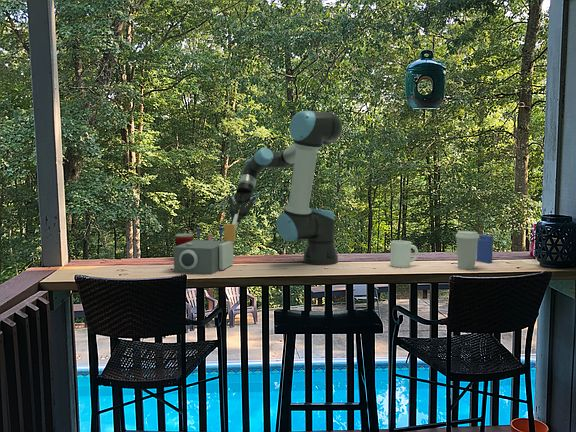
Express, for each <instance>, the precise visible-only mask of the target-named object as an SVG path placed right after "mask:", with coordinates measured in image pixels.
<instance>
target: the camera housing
mask: <svg viewBox="0 0 576 432" xmlns="http://www.w3.org/2000/svg"><path fill="white" fill-rule="evenodd" d="M225 242H227V241H224V240H206V239H202V240H201V239H193V240H192V241H190V242H187V243H184V244H181V245H178V246H173V272H174V273H181V274H182V273H184V274H185V273H186V274H202V275H213V274H215V273H216V272H219V271H220V270H219V245H220V244H223V243H225Z"/></svg>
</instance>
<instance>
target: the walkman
mask: <svg viewBox="0 0 576 432" xmlns="http://www.w3.org/2000/svg"><path fill="white" fill-rule="evenodd" d="M478 235H479V238H478V244H477V252H476V259H475V262H479V263H485V264H492V263H493V249H494V248H493V246H494V236H493V235H491V234H479V233H478Z"/></svg>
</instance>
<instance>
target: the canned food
mask: <svg viewBox="0 0 576 432" xmlns="http://www.w3.org/2000/svg"><path fill="white" fill-rule="evenodd" d="M192 240H194V234H193V233H176V234H175V237H174V242H175V243H174V245H175V246H178V245H181V244H184V243H187V242H190V241H192ZM175 246H174V247H175Z"/></svg>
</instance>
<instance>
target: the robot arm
mask: <svg viewBox="0 0 576 432" xmlns="http://www.w3.org/2000/svg"><path fill="white" fill-rule="evenodd" d="M288 131H289V135H290V137H291V139H293V144H292V145H290V146H289V147H287V148H286V149H284V150H282V151H272V150H271V149H270V148H267V147H261V148H260V149H259V150H257V151H256V152H255V153H254V155H253V156H252V157H251V158H247V159H246V160H245V163H244V164H243V167H242V173H241V175H240V178H239V180H238V184H237V187H236V191H235V194H234V193H233V196H230V195H229V196H228V197H227V198H228V201H229V214H230V216H231V224H235V226H236V230H237V229H238V225H239V223H241V221H242V218H243V217H244V218H245V217H247V216H248V214H249V213H250V211H251V209H252V207H253V206H254V205H255V204H256V203H257V198H256V197H255V196H253V194H254V191H255V187H256V184H257V180H258V177H259V176H260V174H261V173H262V172H263V171H264V170H265V169H287V170H288V169H293V171H292V177H291V183H290V192H289V199H288V204H286V205H285V206H284V207H283V208H284V209H283V212H282V213H280V214H278V216H277V218H276V229H277V232H278V235H279V237H280V238H281V239H283V240H284V241H286V242H296V241H303V240H307V244H306V247H305V250H304V252H303V257H302V258H303V263H305V264H308V265H322V266H324V265H334V264H337V263H338V262H339V257H338V253H337V249H336V246H335V221H336V220H335V212H334V211H332V210H327V209H318V208H312V207H311V208H310V202H311V195H312V190H313V185H314V184H313V183H314V177H315V171H316V170H315V169H316V163H317V157H318V152H319V150H321V148H322V147H323V146H329V145H331V144H332V143H334V142H336V141H337V140H338V139H340V136H341V135H342V133H343V123H342V120H341V119H340V117H339V116H338V115H336V114H335V113H332V112H329V111H317V110H316V111H315V110H300V111H298V112H297V113H295V114H294V115H293V117H291V120H290V122H289V130H288ZM234 202H235V204H234Z"/></svg>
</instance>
